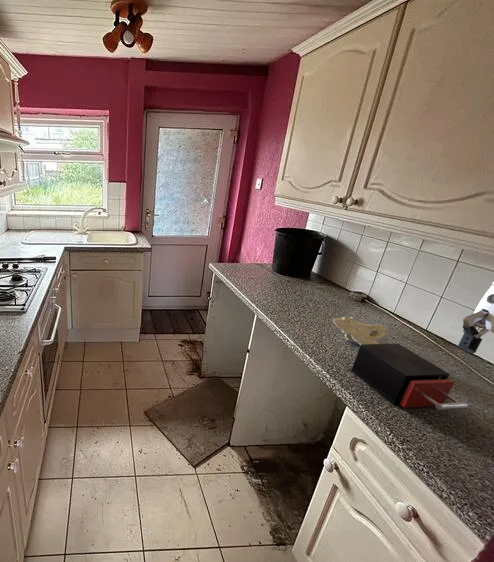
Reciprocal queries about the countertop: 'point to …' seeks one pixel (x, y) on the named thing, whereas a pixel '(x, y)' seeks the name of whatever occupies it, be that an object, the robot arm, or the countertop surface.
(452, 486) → the countertop surface
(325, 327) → the countertop surface
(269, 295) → the countertop surface
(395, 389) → the black drawer housing
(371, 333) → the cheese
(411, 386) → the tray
